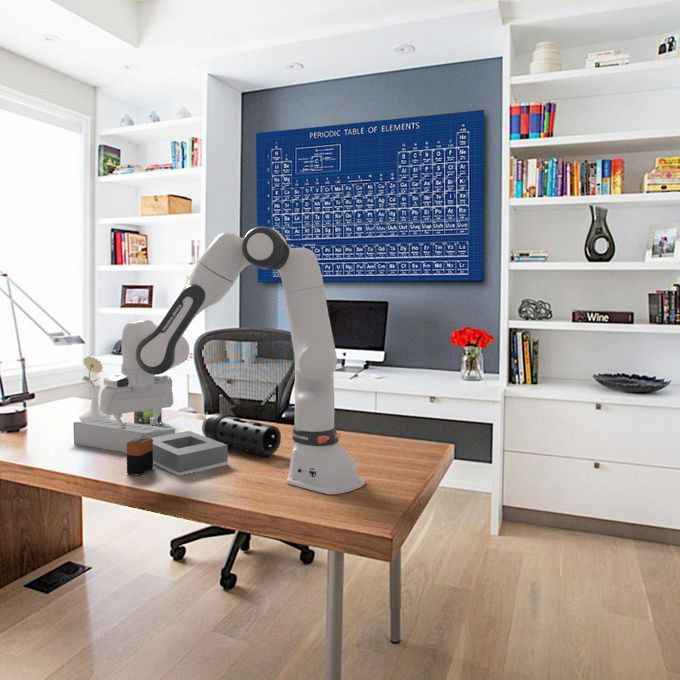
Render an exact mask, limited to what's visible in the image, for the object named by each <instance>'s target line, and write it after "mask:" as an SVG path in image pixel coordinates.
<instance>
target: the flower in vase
mask: <svg viewBox="0 0 680 680" xmlns="http://www.w3.org/2000/svg"><path fill="white" fill-rule="evenodd" d="M82 360H83V361H82V362H83V365H84V366H85V368H86V369H87V370H88V371H89V372H88V376H86V375H85V376H83V378H82V381H85V382H88V383H89V382H90V383H91V385H87V388H88V390H89V392H90V396H91V404H90V405H89V407H88V408H87V409H86V410H85V411H83V412H82V413H81V414H80V415H79V417H78V420H79V422H82V421H93V420H104V419H109V420H111V418H112V415H105V414H103V413H102V412H101V410H100V403H99V392H100V389H101V388H102V385H101V384H94V382H97V381H98V380H99V378H96V379H95V380H93V381H92V380H91V377H90V376H91V375H90V374H91V372H93V373H94V374H95V373H96V374H100V373H101V372H103V365H102V363H101V361H100V360H98V358H95V357H94V356H86V357H84V358H83V359H82Z"/></svg>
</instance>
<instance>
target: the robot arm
mask: <svg viewBox="0 0 680 680" xmlns="http://www.w3.org/2000/svg"><path fill="white" fill-rule="evenodd" d="M251 265H252V266H254V267H256V268H259V269H262V270H272V271H273V270H274V271H277V272H278V274H279V275H280V279H281V283H282V289H283V290H282V291H283V295H284V296H283V297H284V301H285V306H286V312H287V313H286V314H287V319H288V325H289V331H290V337H291V343H292V349H293V355H294V426H293V428H292V440H293V446H292V451H291V454H290V463H289V469H288V470H289V472H288V474H287V478H286V484H288V485H292V486H295V487H298V488H303V489H307V490H309V491H310V490H311V491H313V492H317V493H322V494H326V495H339V494H345V493H349V492H351V491H355V490H357V489H359V488H361V487H363V486H365V484H366V481H365V478H362V477H361V476H358V474H357V465H356V461H355V460H354V459H353V458H352V456H351V455H350V454H349V453H348V452H347V450H346V449H345V448H344V447H343V446H342V445H341V443H340V442H339V438H341V437H342V433H341V432H337V429H336V426H335V383H334V382H335V381H334V372H335V370H336V369H337V365H338V359H337V358H338V357H337V352H336V347H335V341H334V336H333V331H332V325H331V320H330V316H329V310H328V304H327V303H328V302H327V297H326V292H325V285H324V280H323V276H322V272H321V268H320V264H319V261H318V258H317V256H316V253H315V252H314V251H313V250H311V249H309V248H306V247H290V246H289V243H288V241H287V239H286V237H285V236H284V235H283V234H281V233H280V231H278V230H277V229H274V228H272V227H268V226H263V225H261V226H256V227H254V228H251V229H250V230H249V231H248V232H247V233H246V234H245V236H244V237H241V236H239V235H237V234H234V233H231V232H222V233H220V234H219V235H217V236H216V237H215V238H214V240H213V241H211V243H210V244H209V245H208V247H207V248H206V249H205V251H204V252H203V254H202V255H201V256H200V258H199V260H198V262H197V263H196V265H195V267H194V269H193V270H192V272H191V274H190V275H189V277H188V280H187V282H186V283H185V285H184V286H183V288H182V290H181V292H180V294H179V296H178V297H177V298H176V300H175V301H174V303H173V304H172V305H171V307H170V309H169V310H168V311H167V312H166V314H165V316H164V318H163V319H162V320H161V321H160V323H159V325H156V324H155V322H153V321H152V320H150V319H145V320H136V321H130V322H128V323H127V324H125V325H124V327H123V329H122V334H121V355H122V364H121V371H118V372H116V373H114V374H111V375H109V376H107V377H104V379H103V385H104V386H105V387H104V388H103V389H102V390H101V394H100V403H99V405H100V410H101V412H102V413H103V414H105V415H111V416H113V418H114V420H116V421H117V422H118V429H126V423H125V422H126V421H123V422H122V419H121V418H123V414H128V413H134V412H137V411H144V410H152V409H154V411H155V413H154V415H153V417H151V418H150V424H152V425H153V424H157V423H158V417H159V415H160V414H161V408H162V409H166V408H171V407H172V406H173V405H174V394H173V379H172V378H171V377H170V376H168V375H162V374H164V373H165V372H167V371H169V370H171V369H173V368H176V367H177V366H180V365H181V364H183V363H185V361H186V360H187V359H188V357H189V355H190V345H189V342H188V341H187V340H186V338H185V337H184V336H183V335H184V333H185V332H186V330H187V329H188V327H189V326H190V325H191V323H192V322H193V320H194V319H195V318H196V317H197V316H198V315H199V314H200V313H202V312H203V311H204V310H205V309H207V308H209V307H210V306H213V305H215V304H216V303H219V302H220V301H221V300H222V299H223V298H224V297H225V296H226V295H227V294H228V293H229V291H230V290H231V288H232V287H233V285H234V283H235V282H236V280H237V278H238V277H239V275H240V274H241V272H242V271H243V270H244V269H245V268H246V267H247V266H251Z"/></svg>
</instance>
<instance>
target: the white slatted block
mask: <svg viewBox="0 0 680 680" xmlns="http://www.w3.org/2000/svg"><path fill="white" fill-rule="evenodd" d="M121 421H122V420H121ZM122 422H125V423H126V429H118V422H117V421H116V419H104V420H93V421H74V422H73V444H75V445H81V446H87V447H92V448H98V449H104V450H108V449H109V451H113V450H115V451H114V452H119V451H122V452H121V453H125V452H127V446H126V444H127V442H129V441H132V439H133V438H139V437H141V436H143V435H145V436H146V438H152V437H158V436H163V435H169V434H174V433H176V430H175V429H176V428H169V427H162V426H161V427H160V426H157V425H155V426H150V425H143V424H136V423H134V422H129V421H122Z"/></svg>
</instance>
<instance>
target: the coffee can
mask: <svg viewBox="0 0 680 680" xmlns="http://www.w3.org/2000/svg"><path fill="white" fill-rule="evenodd" d="M162 409H163V408H161V414H160V415H159V417H158V423H157V424H159V425H161V424H162V422H163V420H162V414H163V410H162ZM154 413H155V411H154V409H152V410H144V411H137V412H133V423H136V424H143V425H150V426H152V424H150V418H151V417H153V415H154ZM160 423H161V424H160ZM153 425H155V426H157V425H156V424H153Z"/></svg>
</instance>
